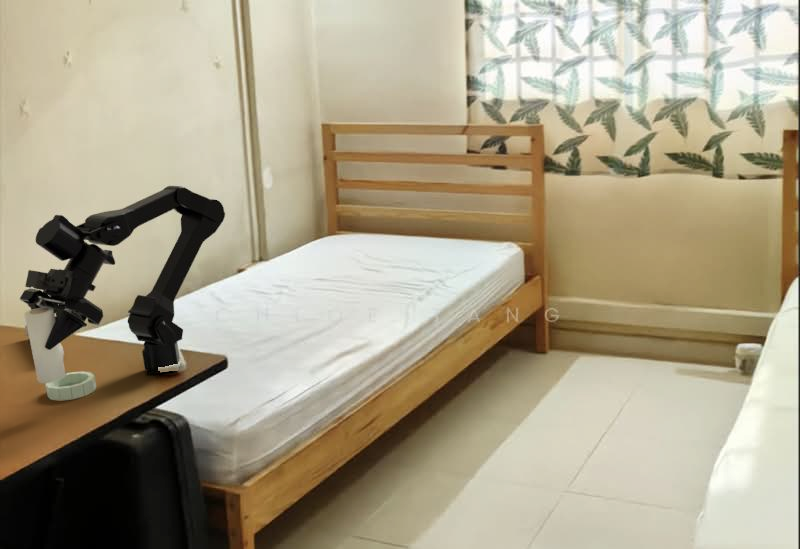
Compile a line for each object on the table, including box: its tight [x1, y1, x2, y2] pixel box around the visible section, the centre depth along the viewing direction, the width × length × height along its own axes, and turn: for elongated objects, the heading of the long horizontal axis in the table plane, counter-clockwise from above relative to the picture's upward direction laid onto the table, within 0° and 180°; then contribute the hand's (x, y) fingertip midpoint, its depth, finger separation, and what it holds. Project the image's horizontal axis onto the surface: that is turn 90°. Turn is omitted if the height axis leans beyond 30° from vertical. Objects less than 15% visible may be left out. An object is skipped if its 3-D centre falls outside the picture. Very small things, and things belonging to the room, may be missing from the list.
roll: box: [24, 307, 67, 384], centre depth 181 cm, size 5×5×13 cm
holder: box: [44, 371, 97, 402], centre depth 195 cm, size 9×9×2 cm
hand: (38, 346), depth 180 cm, fingers closed on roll, 5 cm apart
